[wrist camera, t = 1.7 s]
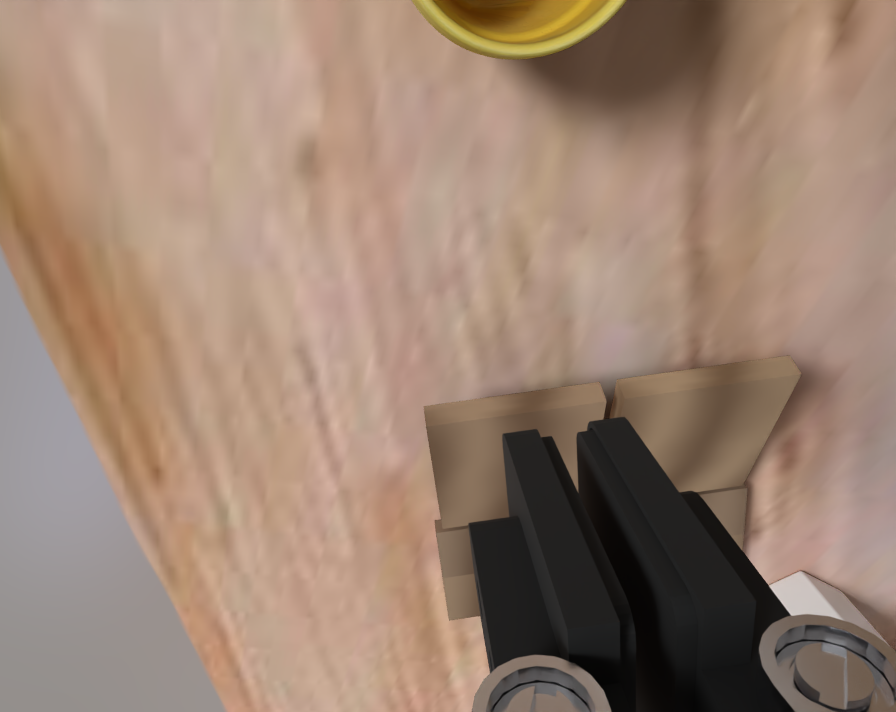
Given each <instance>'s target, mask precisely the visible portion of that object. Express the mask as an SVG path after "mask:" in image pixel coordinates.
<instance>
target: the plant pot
mask: <svg viewBox="0 0 896 712" xmlns="http://www.w3.org/2000/svg"><path fill="white" fill-rule="evenodd" d="M626 1H627V0H412V2H413V3H414V5H415V6H416V8H417V9H418V10H419V12H420V13H421V14H422V15H423V17H424V18H425V19H426V20H427V21H428V22H429V23H430V24H431V25H432V26H433V27H434V28H435V29H436V30H437V31H438V32H439V33H441V34H442V35H443V36H445V37H446V38H447V39H449V40H450V41H452V42H453V43H455V44H457V45H459V46H460V47H462V48H464V49H466V50H469V51H471V52H474V53H477V54H480V55H484V56H487V57H493V58H499V59H529V58H536V57H542V56H546V55H550V54H553V53H556V52H559V51H562V50H565V49H567V48H569V47H571V46H573V45H575V44H577V43H579V42H581V41H583V40H584V39H586V38H587V37H589V36H590V35H592V34H593V33H595V32H596V31H597V30H599V29H600V28H601V27H602V26H604V25H605V24H606V23H607V22H608V21H609V20H610V19H611V18H612V17H613V16H614V15H615V14H616V13H617V12H618V11H619V10H620V8H621V7H622V6H623V5H624V4H625V2H626Z"/></svg>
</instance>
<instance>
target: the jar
mask: <svg viewBox="0 0 896 712" xmlns="http://www.w3.org/2000/svg"><path fill="white" fill-rule="evenodd" d="M769 587H770V588H771V589H772V591H773V592H774V593H775V595H776V596H777V597H778V599H779V600H780V601H781V603H782V604H783V605H784V607H785V608H786V609H787V611H788V612H789V613H790V615H791V616H795V615H802V614H813V615H822V616H830V617H833V618H837V619H840V620H843V621H847V622H850V623H853V624H855V625H857V626H859V627H861V628H863V629H865V630H867V631H869V632H871V633H873V634H875V635H876V636H877V637H879V638H880V639H881V640H883V641H884V642H885V643H886V644H888V643H887V642H886V641H885V640H884V639H883V637H882V636H881V635H880V634H879V633H878V632H877V631H876V630H875V628H874V627H873V626H872V625H871V624H870V623H869V622H868V621H867V619H866V618H865V617H864V616H863V615H862V614H861V613H860V612H859V611H858V609H857V608H856V607H855V606H854V605H853V604H852V603H851V602H850V600H849V599H848V598H847V597H846V596H845V595H844V594H843V593H842V592H841V591H840V590H838V589H836V588H834V587H832V586H830V585H828V584H826V583H824V582H822V581H820V580H818V579H816V578H815V577H813V576H811V575H809V574H807V573H805V572H803V571H798V572H796V573H794V574H792V575H790V576H788V577H785V578H783V579H781V580H779V581H777V582H775V583H772V584H770V585H769ZM888 645H889V644H888ZM889 646H890V645H889ZM890 647H891V646H890Z"/></svg>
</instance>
